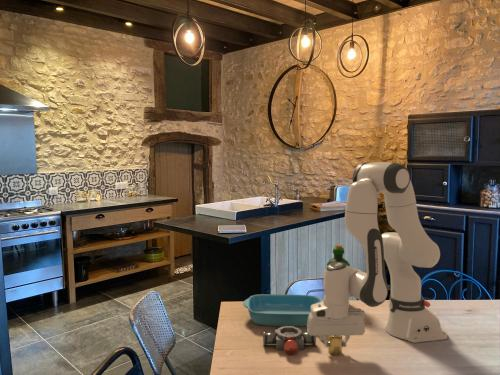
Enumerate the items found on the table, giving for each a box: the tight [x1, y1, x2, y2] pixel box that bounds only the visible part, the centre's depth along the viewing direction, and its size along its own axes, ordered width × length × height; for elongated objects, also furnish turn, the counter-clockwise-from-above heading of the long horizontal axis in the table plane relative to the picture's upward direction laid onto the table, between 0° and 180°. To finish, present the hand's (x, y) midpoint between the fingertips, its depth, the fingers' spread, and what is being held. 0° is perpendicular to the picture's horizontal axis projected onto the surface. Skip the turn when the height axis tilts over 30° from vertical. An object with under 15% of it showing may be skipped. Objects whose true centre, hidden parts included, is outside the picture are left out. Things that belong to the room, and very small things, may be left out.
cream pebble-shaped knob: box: [318, 335, 329, 343], centre depth 154 cm, size 6×6×5 cm
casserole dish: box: [242, 293, 323, 327], centre depth 173 cm, size 37×22×7 cm, turn 89°
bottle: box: [326, 243, 351, 267], centre depth 188 cm, size 11×11×28 cm
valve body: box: [262, 326, 317, 356], centre depth 147 cm, size 19×12×5 cm, turn 90°
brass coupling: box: [328, 335, 343, 357], centre depth 143 cm, size 5×5×6 cm
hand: (335, 346), depth 143 cm, fingers closed on brass coupling, 5 cm apart
